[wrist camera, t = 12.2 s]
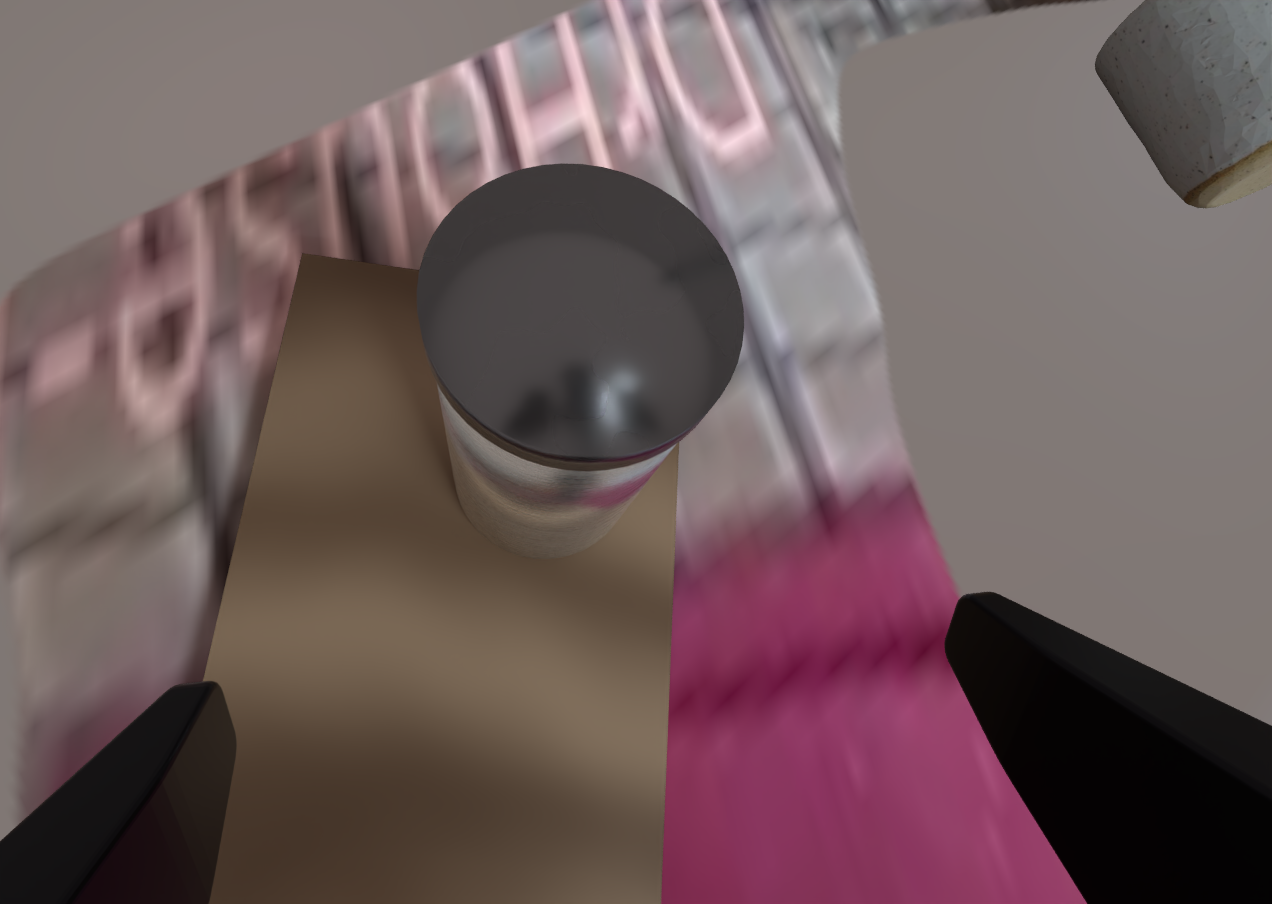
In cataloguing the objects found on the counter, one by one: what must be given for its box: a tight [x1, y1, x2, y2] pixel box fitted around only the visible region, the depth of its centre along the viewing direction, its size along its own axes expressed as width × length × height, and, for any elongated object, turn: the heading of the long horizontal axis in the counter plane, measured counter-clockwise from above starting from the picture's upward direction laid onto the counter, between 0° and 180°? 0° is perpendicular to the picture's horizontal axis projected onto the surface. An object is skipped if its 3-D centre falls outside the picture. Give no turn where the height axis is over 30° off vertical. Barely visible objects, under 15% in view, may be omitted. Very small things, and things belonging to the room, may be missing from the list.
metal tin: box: [417, 164, 744, 559], centre depth 16 cm, size 5×5×10 cm
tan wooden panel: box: [203, 253, 679, 904], centre depth 20 cm, size 18×12×1 cm, turn 176°
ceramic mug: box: [1095, 0, 1272, 208], centre depth 29 cm, size 11×8×8 cm
